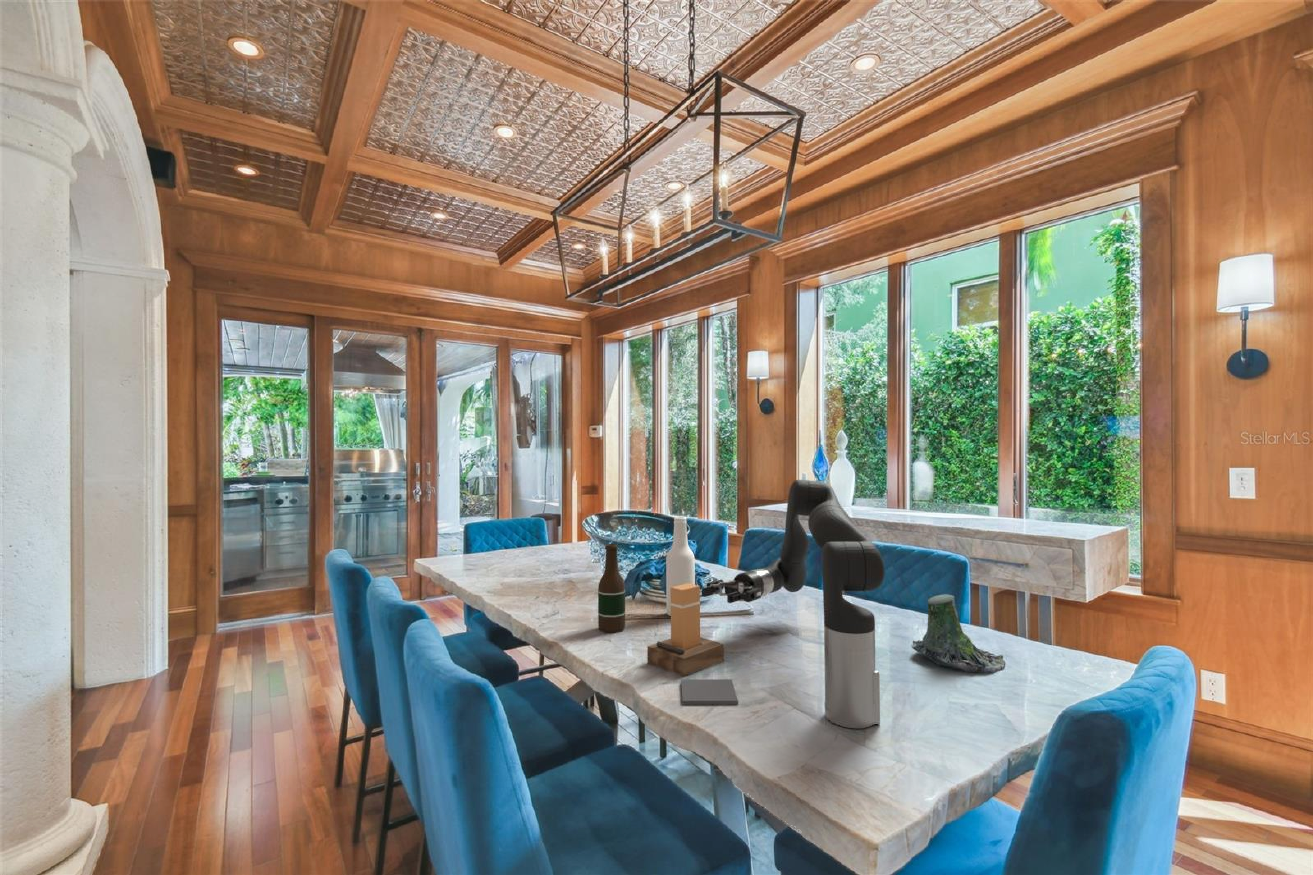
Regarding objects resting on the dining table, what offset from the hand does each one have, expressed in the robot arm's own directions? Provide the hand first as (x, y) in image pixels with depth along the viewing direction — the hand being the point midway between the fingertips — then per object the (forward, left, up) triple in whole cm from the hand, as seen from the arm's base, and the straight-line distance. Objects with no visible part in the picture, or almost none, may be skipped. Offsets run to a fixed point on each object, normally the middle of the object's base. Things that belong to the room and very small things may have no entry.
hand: (715, 595), depth 152 cm
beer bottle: (+28, -18, -14) cm, 36 cm away
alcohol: (+8, -32, -14) cm, 36 cm away
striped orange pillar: (+8, +8, -14) cm, 18 cm away
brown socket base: (+8, +8, -14) cm, 18 cm away
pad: (+4, +27, -14) cm, 30 cm away
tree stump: (-57, +7, -14) cm, 60 cm away
